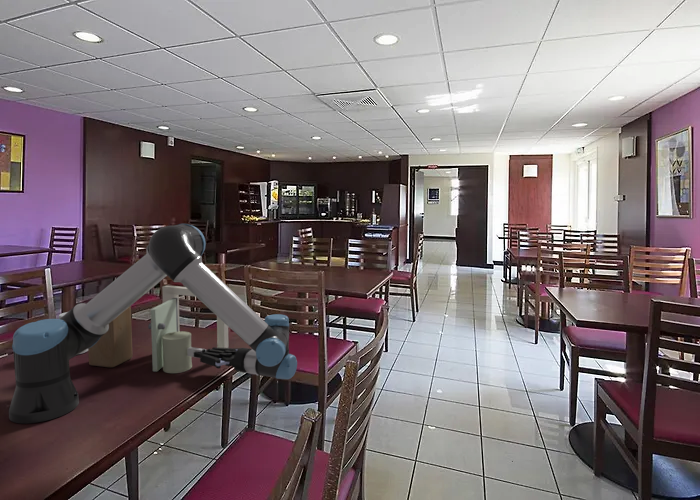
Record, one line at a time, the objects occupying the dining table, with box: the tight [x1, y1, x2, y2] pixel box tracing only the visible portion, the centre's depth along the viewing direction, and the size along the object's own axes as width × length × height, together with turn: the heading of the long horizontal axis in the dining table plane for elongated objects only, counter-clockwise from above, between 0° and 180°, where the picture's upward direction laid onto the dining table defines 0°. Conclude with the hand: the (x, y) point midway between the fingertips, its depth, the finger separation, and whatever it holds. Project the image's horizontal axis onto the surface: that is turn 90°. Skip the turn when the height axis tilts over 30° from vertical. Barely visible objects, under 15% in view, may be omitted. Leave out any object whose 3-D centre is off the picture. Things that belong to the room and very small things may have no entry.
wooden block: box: [87, 306, 133, 368], centre depth 145 cm, size 10×10×20 cm
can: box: [162, 330, 193, 374], centre depth 141 cm, size 9×9×12 cm
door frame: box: [161, 285, 229, 348], centre depth 153 cm, size 2×27×25 cm, turn 71°
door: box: [147, 298, 178, 372], centre depth 145 cm, size 5×18×21 cm, turn 0°
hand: (188, 351), depth 139 cm, fingers closed
